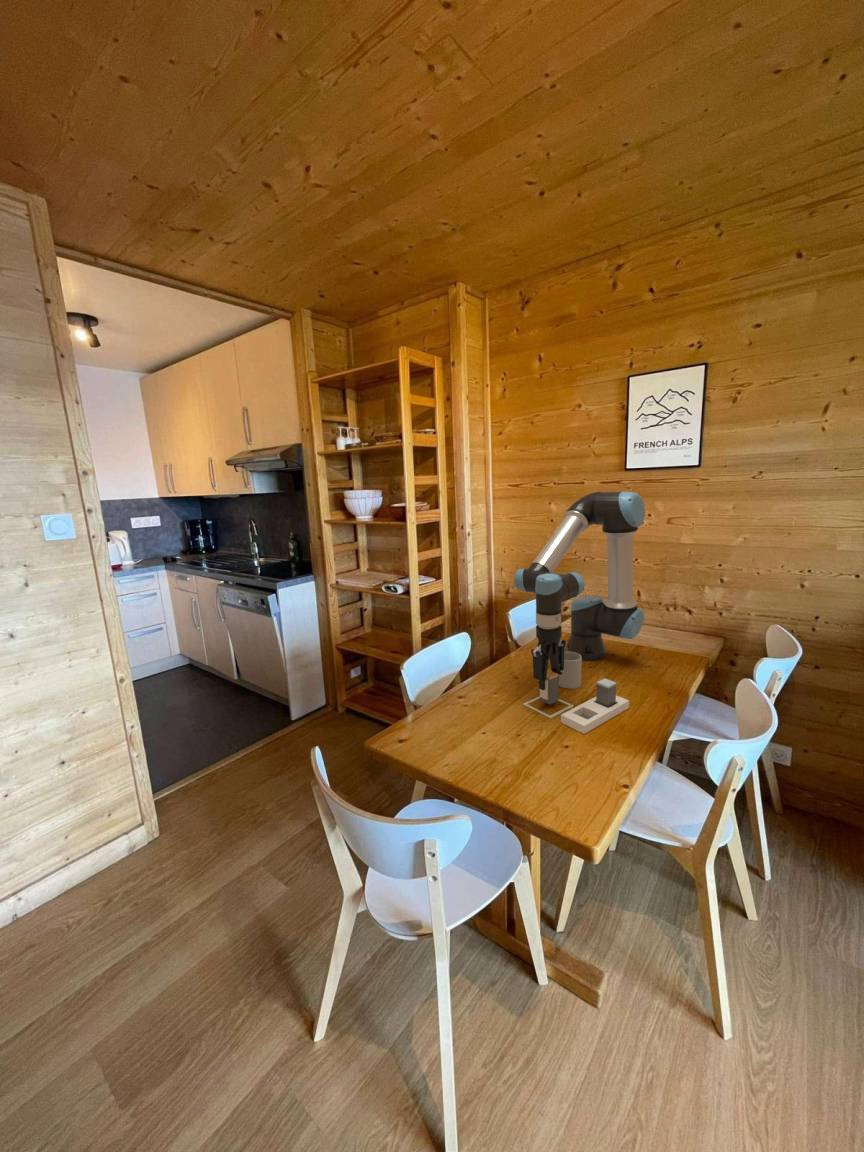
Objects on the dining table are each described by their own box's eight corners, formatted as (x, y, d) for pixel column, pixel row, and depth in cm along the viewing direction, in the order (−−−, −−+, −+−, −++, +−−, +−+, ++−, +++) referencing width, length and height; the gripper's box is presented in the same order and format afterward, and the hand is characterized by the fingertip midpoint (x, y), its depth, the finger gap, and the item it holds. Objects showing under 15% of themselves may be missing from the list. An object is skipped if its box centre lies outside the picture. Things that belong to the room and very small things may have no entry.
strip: (560, 725, 135) (561, 714, 134) (605, 701, 147) (605, 691, 146) (583, 737, 128) (584, 726, 128) (628, 710, 141) (629, 700, 140)
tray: (523, 707, 146) (523, 703, 146) (546, 696, 152) (546, 693, 152) (550, 721, 137) (550, 717, 137) (573, 709, 143) (573, 705, 143)
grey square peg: (595, 709, 141) (596, 682, 139) (603, 704, 143) (604, 678, 141) (607, 714, 138) (608, 686, 136) (615, 709, 140) (616, 682, 138)
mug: (572, 693, 153) (573, 663, 151) (550, 685, 159) (550, 656, 157) (591, 681, 161) (591, 652, 159) (569, 674, 167) (569, 646, 165)
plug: (540, 699, 145) (539, 673, 143) (548, 695, 147) (548, 669, 145) (549, 704, 142) (549, 678, 140) (558, 700, 144) (558, 673, 142)
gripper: (539, 635, 131) (539, 709, 136) (576, 621, 140) (576, 690, 146) (519, 629, 137) (521, 700, 142) (557, 615, 146) (557, 682, 152)
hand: (549, 695), depth 144 cm, fingers closed on plug, 4 cm apart
